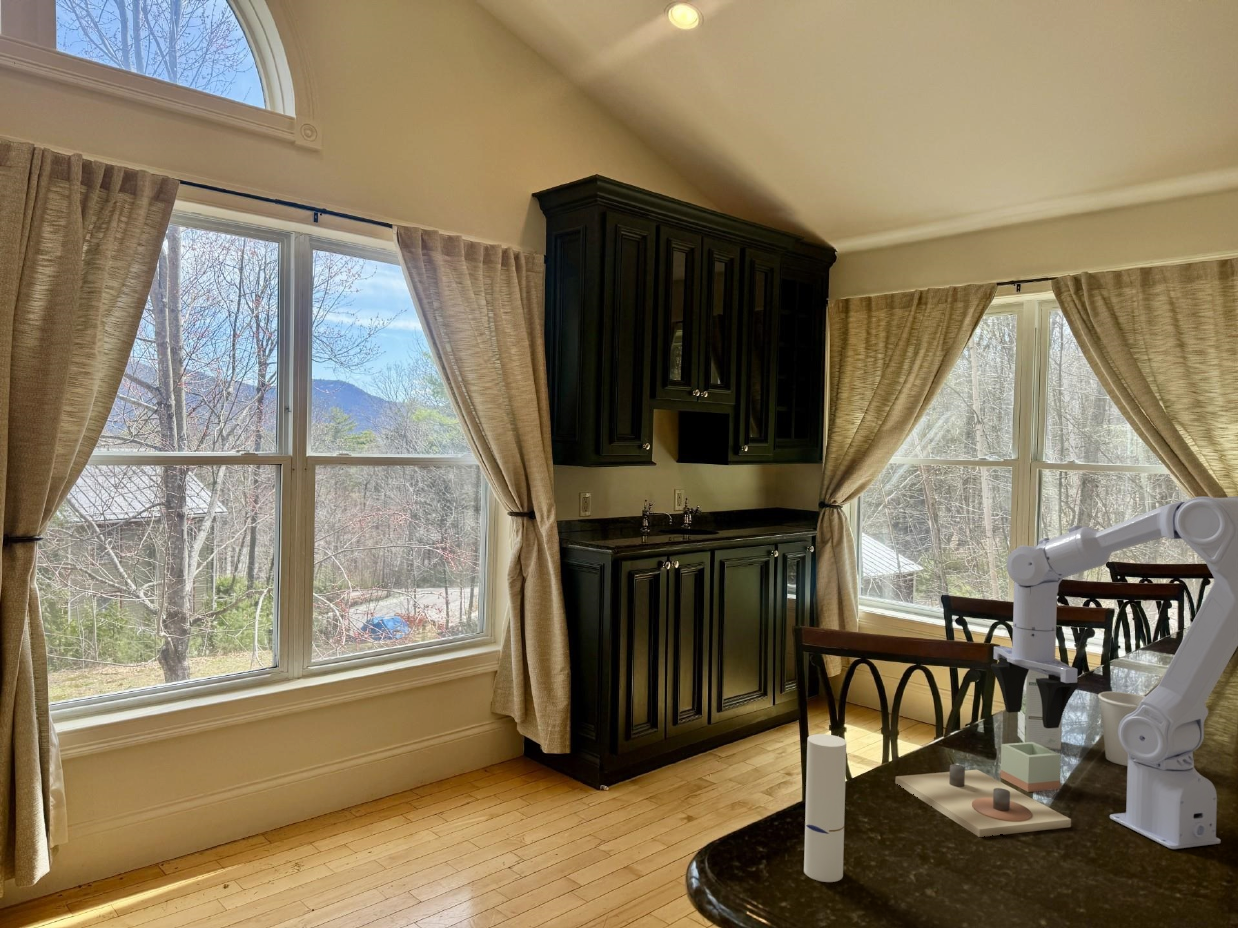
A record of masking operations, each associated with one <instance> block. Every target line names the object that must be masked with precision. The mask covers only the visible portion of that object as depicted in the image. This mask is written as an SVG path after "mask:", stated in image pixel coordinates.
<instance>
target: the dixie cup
mask: <svg viewBox="0 0 1238 928" xmlns="http://www.w3.org/2000/svg"><path fill="white" fill-rule="evenodd" d="M1097 696H1098V699H1099V706H1100V714H1101V724H1102V732H1103V733H1102V734H1103V741H1104V751H1105V759H1106V760H1108V761H1110V762H1111V763H1114V764H1118V765H1121V766H1126V767H1128V753H1127V752H1126V751H1125V749H1124V748H1123V746H1122V744H1121V742H1120V740H1119V735H1118V728H1119V724H1120V722H1121V720H1122V719H1123V718H1124V717H1125V716H1126V715H1128V714H1130V713H1132V712H1134V711H1135V710H1136V709H1137V708H1138V706H1139V705H1140V703H1141V701H1142V700H1143V699H1144V698H1145V697H1146V696H1147V695H1146V696H1145V695H1141V694H1137V693H1132V692H1126V691H1125V692H1124V691H1123V692H1122V691H1102V692H1099V693H1098V695H1097Z"/></svg>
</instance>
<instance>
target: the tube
mask: <svg viewBox="0 0 1238 928" xmlns="http://www.w3.org/2000/svg"><path fill="white" fill-rule="evenodd" d="M806 746H807V747H806V775H805V776H806V777H805V778H806V782H805V785H806V786H805V815H804V817H805V818H804V819H805V821H804V851H803V852H804V856H803V857H804V860H803V873H804V874H805V875H806V876H807V877H809V878H810V879H812V880H814V881H815V880H816V881H818V882H825V883H833V882H834V883H835V882H838V881H840V880H842V879H843V877H844V844H845V841H844V840H845V814H846V813H845V812H846V811H845V810H846V809H845V807H846V805H845V803H846V801H845V800H846V775H847V773H846V772H847V771H846V769H847V767H846V766H847V740H846V739H844V738H843V737H840V736H837V735H832V734H826V733H816V734H812V735H811V734H810V735H809V736H808V737H807V745H806Z"/></svg>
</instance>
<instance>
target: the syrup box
mask: <svg viewBox="0 0 1238 928" xmlns="http://www.w3.org/2000/svg"><path fill="white" fill-rule="evenodd" d="M1036 678H1048V675H1045V674H1042V673H1039V672H1036V671H1033V670H1030V669H1029V671H1028V674H1027V676H1026V680H1025V683H1024V688H1023V698H1022V707H1021V711H1020V712H1017V732H1016V733H1017V737H1018V739H1020V741H1021V743H1024V742H1034V743H1036V744H1039V745H1041V746H1043V747H1045V748H1048V749H1050V750H1061V749H1062V735H1063V734H1062V730H1063V729H1062V727H1063V726H1062V725H1063V724H1062V723H1063V722H1062V721H1063V720H1062V719H1063V717H1062V718H1061V721H1060V725H1059V728H1049V729H1048V728H1045V727H1044V725H1043V720H1042V701H1041V696H1040V692H1039V688H1038V685H1037V683H1036Z"/></svg>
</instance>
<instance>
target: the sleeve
mask: <svg viewBox="0 0 1238 928" xmlns="http://www.w3.org/2000/svg"><path fill="white" fill-rule="evenodd" d="M1000 750H1001V751H1000V753H1001V754H1000V778H1001V779H1002V780H1004V781H1007V782H1008V783H1010V784H1012V785H1014V786H1016V787H1018V788H1019V789H1022V790H1024V791H1026V793H1027V792H1028V793H1030V792H1039V791H1040V792H1041V791H1052V790H1060V789H1061V772H1062V771H1061V767H1062V766H1061V764H1062V763H1061V762H1062V758H1061V757H1062V754H1060V753H1059V752H1056V751H1054V750H1053V749H1048V748H1045V747H1043V746H1041V745H1039V744H1036V743H1034V742H1024V743H1023V742H1015V743H1001V749H1000Z"/></svg>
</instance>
